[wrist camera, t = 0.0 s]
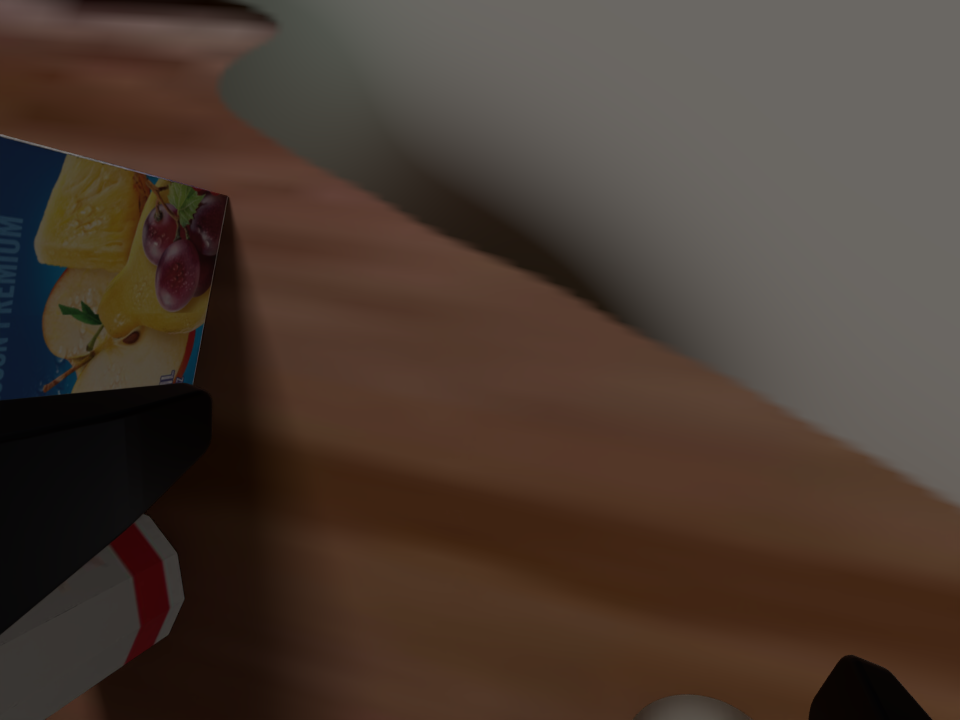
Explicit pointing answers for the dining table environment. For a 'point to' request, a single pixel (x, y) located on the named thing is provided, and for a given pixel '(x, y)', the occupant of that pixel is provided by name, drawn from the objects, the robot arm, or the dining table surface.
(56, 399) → the robot arm
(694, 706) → the grey rounded cylinder
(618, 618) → the dining table surface
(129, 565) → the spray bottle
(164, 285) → the juice carton
